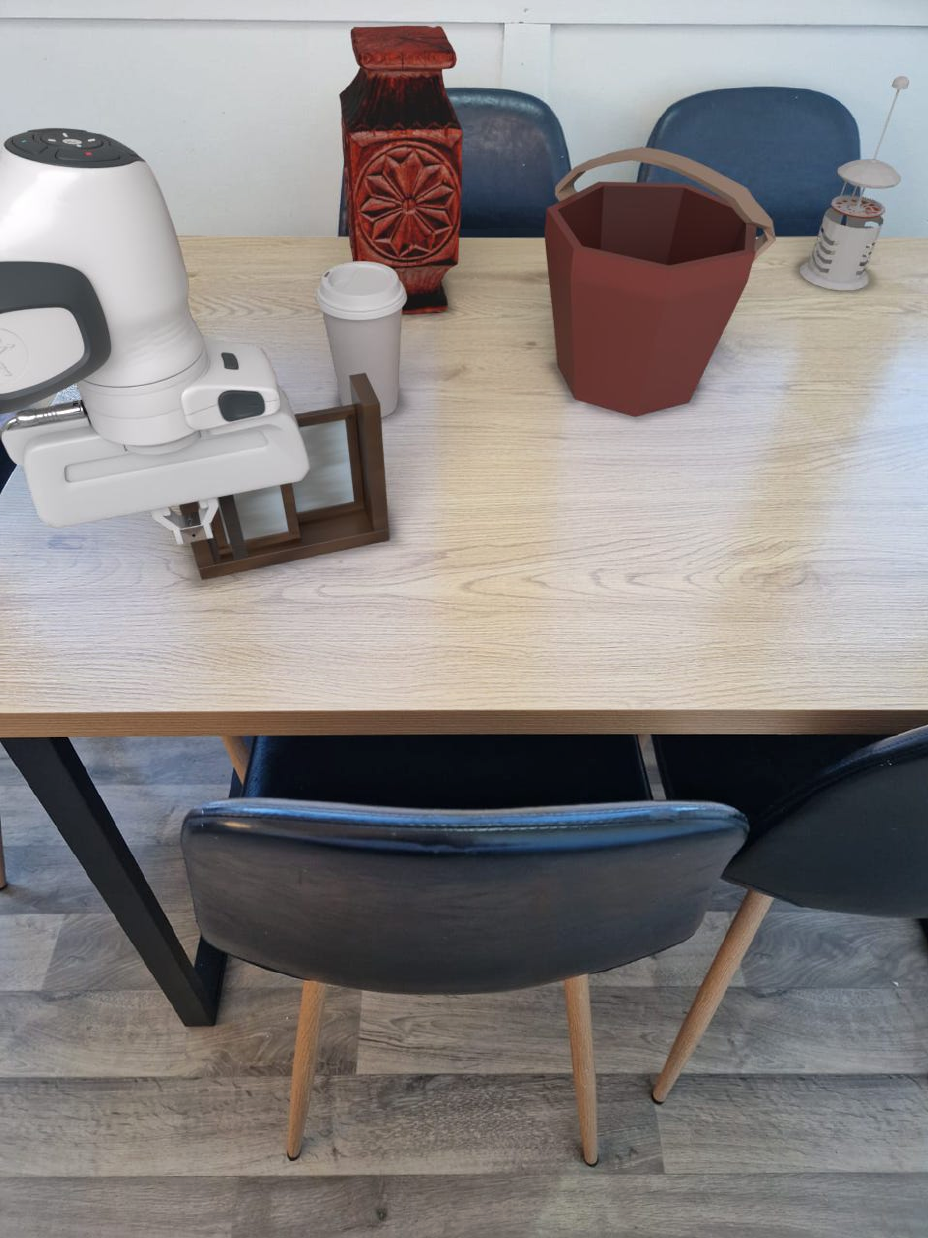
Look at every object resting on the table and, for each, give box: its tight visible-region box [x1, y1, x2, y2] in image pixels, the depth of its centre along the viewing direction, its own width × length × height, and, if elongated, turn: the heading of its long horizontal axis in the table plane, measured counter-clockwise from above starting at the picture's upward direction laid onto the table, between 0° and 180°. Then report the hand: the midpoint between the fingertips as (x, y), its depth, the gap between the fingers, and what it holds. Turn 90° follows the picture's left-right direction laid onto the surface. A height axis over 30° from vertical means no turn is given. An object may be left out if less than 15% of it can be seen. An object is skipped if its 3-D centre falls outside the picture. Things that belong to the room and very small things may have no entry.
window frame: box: [178, 373, 390, 581], centre depth 75 cm, size 18×5×16 cm, turn 109°
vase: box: [338, 25, 464, 316], centre depth 104 cm, size 14×14×30 cm
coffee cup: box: [315, 261, 407, 419], centre depth 91 cm, size 10×10×15 cm
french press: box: [799, 75, 910, 291], centre depth 113 cm, size 10×12×25 cm
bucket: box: [544, 146, 777, 418], centre depth 92 cm, size 24×22×25 cm
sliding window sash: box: [211, 483, 301, 559], centre depth 72 cm, size 8×5×11 cm
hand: (195, 536), depth 68 cm, fingers closed
